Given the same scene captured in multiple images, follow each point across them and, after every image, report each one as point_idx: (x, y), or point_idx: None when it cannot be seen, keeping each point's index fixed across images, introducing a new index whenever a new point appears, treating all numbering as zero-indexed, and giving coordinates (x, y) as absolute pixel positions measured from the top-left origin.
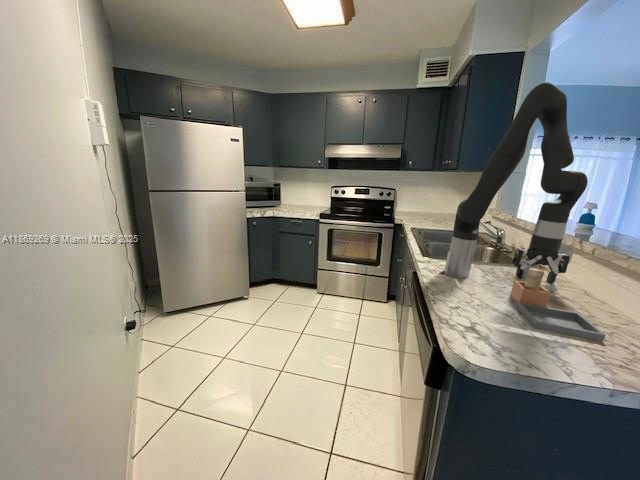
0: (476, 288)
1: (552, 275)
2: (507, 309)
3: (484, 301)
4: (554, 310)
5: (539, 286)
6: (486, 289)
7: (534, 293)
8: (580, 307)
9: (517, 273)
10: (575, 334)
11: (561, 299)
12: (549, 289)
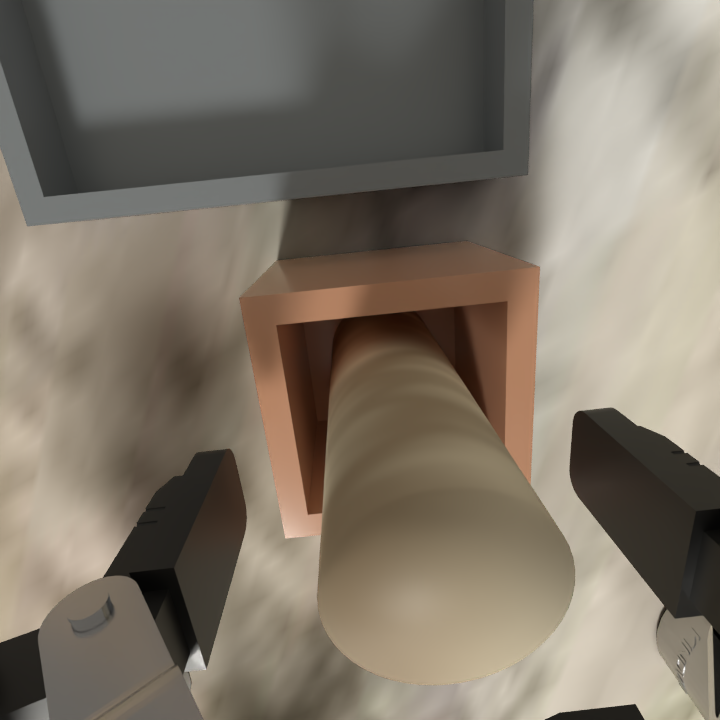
0: None
1: (178, 543)
2: (565, 156)
3: (709, 225)
4: (226, 178)
5: (341, 393)
6: None
7: (401, 276)
8: (2, 507)
9: (691, 466)
10: None
11: (101, 575)
12: None
